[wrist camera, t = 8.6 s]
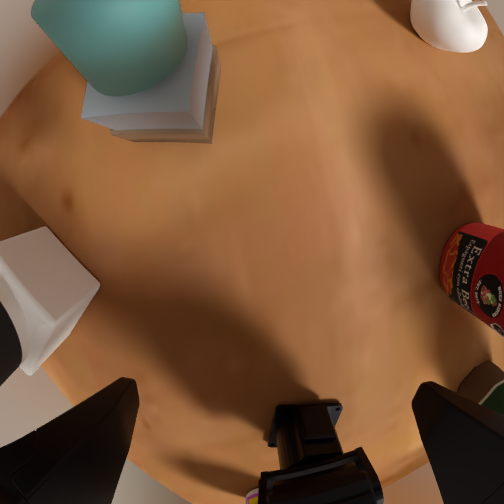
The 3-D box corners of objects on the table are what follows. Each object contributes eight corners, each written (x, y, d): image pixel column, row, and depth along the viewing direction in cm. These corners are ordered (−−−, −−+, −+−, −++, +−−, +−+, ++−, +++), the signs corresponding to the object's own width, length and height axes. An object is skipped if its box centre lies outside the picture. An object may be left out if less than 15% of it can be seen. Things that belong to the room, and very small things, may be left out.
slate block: (202, 129, 14) (188, 111, 10) (116, 130, 13) (81, 118, 10) (212, 48, 12) (204, 12, 9) (129, 53, 12) (102, 24, 8)
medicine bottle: (46, 223, 18) (-66, 264, 7) (103, 283, 20) (7, 370, 8) (20, 281, 19) (-67, 337, 8) (70, 334, 21) (-4, 418, 9)
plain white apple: (458, 75, 16) (516, 56, 8) (395, 39, 16) (449, -1, 8) (454, 24, 14) (501, -2, 7) (395, -11, 14) (435, -51, 6)
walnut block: (211, 143, 18) (204, 134, 14) (134, 142, 17) (110, 134, 13) (220, 69, 16) (216, 45, 12) (145, 71, 16) (125, 50, 12)
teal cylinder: (207, 30, 9) (200, -61, 4) (147, 109, 9) (95, 24, 4) (128, 14, 8) (98, -57, 3) (70, 84, 8) (9, 23, 3)
